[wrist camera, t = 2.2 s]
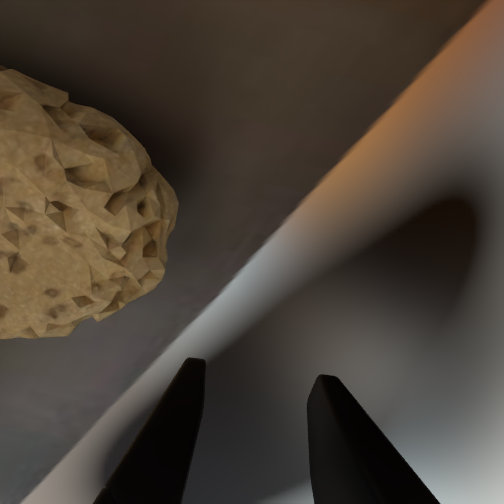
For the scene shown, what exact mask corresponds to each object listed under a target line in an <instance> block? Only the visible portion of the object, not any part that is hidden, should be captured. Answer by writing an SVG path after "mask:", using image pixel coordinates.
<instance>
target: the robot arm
mask: <svg viewBox="0 0 504 504" xmlns="http://www.w3.org/2000/svg"><path fill="white" fill-rule="evenodd" d="M205 369H206V362H205V360H204V359H198V358H190V357H189V358H187V359H186V360H185V361H184V363H183V365H182V366H181V368H180V369H179V371H178V372H177V374H176V376H175V377H174V378H173V380H172V382H171V383H170V385H169V386H168V388H167V389H166V391H165V392H164V394H163V396H162V397H161V399H160V400H159V402H158V403H157V405H156V407H155V408H154V410H153V411H152V413H151V414H150V416H149V417H148V419H147V420H146V422H145V424H144V425H143V427H142V429H141V430H140V431H139V433H138V435H137V436H136V438H135V439H134V441H133V442H132V444H131V446H130V447H129V449H128V450H127V452H126V453H125V455H124V456H123V458H122V459H121V461H120V463H119V464H118V466H117V467H116V469H115V471H114V472H113V473H112V475H111V477H110V478H109V480H108V481H107V483H106V485H105V488H103V489H102V490H101V492H100V493H99V495H98V496H97V498H96V499H95V501H94V503H93V504H181V503H182V499H183V495H184V491H185V487H186V483H187V478H188V474H189V470H190V465H191V461H192V457H193V453H194V448H195V444H196V440H197V436H198V431H199V427H200V422H201V418H202V414H203V408H204V395H205ZM307 420H308V442H309V463H310V476H311V484H312V491H313V498H314V504H440V503H439V502H438V500H437V499H436V498H435V496H434V495H433V494H432V493H431V492H430V490H429V489H428V488H427V487H426V485H425V484H424V483H423V482H422V481H421V479H420V478H419V477H418V475H417V474H416V473H415V472H414V471H413V469H412V468H411V467H410V466H409V465H408V463H407V462H406V461H405V459H404V458H403V457H402V456H401V455H400V453H399V452H398V451H397V450H396V448H395V447H394V446H393V445H392V444H391V442H390V441H389V440H388V439H387V437H386V436H385V435H384V434H383V433H382V431H381V430H380V429H379V428H378V426H377V425H376V424H375V423H374V421H373V420H372V419H371V418H370V417H369V415H368V414H367V413H366V411H365V410H364V409H363V408H362V407H361V405H360V404H359V403H358V402H357V400H356V399H355V398H354V397H353V396H352V394H351V393H350V392H349V391H348V390H347V388H346V387H345V386H344V385H343V383H342V382H341V381H340V380H339V378H337V377H336V376H330V375H319V376H318V377H317V379H316V381H315V384H314V386H313V388H312V390H311V393H310V395H309V398H308V402H307Z"/></svg>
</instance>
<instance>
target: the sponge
mask: <svg viewBox="0 0 504 504" xmlns="http://www.w3.org/2000/svg"><path fill="white" fill-rule="evenodd" d="M178 207H179V202H178V199H177V197H176V194H175V192H174V189H173V188H172V187H171V186H170V185H169V184H168V182H167V181H166V180H165V179H164V178H163V177H162V175H161V174H160V173H159V172H158V171H157V170H156V168H154V167H153V166H152V164H151V159H150V157H149V155H148V154H147V152H146V149H145V148H144V147H143V146H142V145H141V143H140V142H139V141H138V140H137V139H136V138H135V137H134V136H133V135H132V134H131V133H130V132H128V131H127V130H126V129H125V128H124V127H123V126H122V125H121V124H119V123H118V122H117V121H116V120H115V119H114V118H113V117H111V116H109V115H107V114H105V113H103V112H101V111H98V110H96V109H94V108H92V107H87V106H82V105H78V104H74V103H72V102H70V101H69V98H68V93H67V92H64V91H62V90H59V89H57V88H54V87H51V86H49V85H46V84H44V83H42V82H39V81H37V80H35V79H33V78H31V77H29V76H26V75H24V74H22V73H20V72H18V71H15V70H13V69H7V68H5V67H3V66H2V65H0V339H10V338H16V337H24V338H31V339H36V338H40V337H57V336H68V335H69V334H70V333H71V332H72V331H73V330H74V328H75V327H76V326H77V325H78V324H79V323H80V322H81V321H83V320H85V319H87V318H90V317H92V316H93V317H94V319H95V320H96V321H97V322H99V321H101V320H102V319H104V318H106V317H108V316H109V315H111V314H113V313H115V312H116V311H118V310H120V309H121V308H122V307H124V306H125V305H126V304H127V303H128V302H130V301H132V300H135V299H137V298H139V297H141V296H143V295H145V294H147V293H148V292H150V291H152V290H153V289H155V288H156V287H157V284H158V283H159V282H160V281H161V280H162V278H163V275H164V272H165V263H166V262H167V250H166V243H167V239H168V237H169V235H170V233H171V232H172V230H173V229H174V227H175V222H176V217H177V212H178Z"/></svg>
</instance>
